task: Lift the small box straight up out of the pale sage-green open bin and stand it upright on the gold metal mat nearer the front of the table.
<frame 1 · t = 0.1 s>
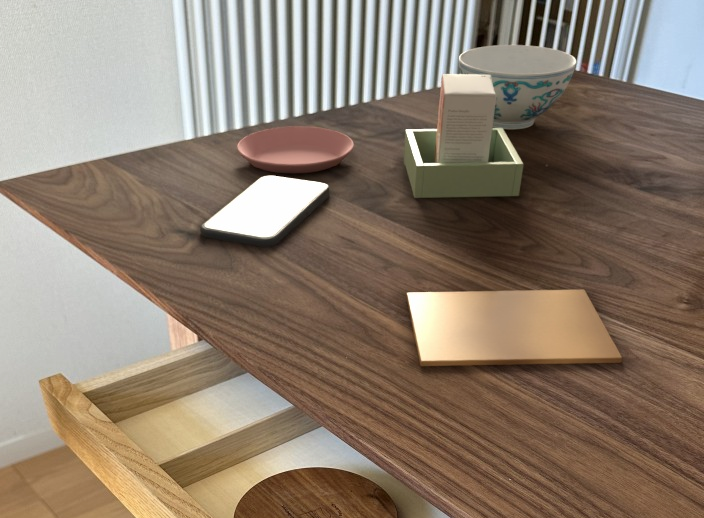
small box: (457, 183, 99), resting in open bin
plate: (295, 162, 105), on the table
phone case: (268, 220, 92), on the table
gold metal mat: (506, 333, 72), on the table
open bin: (458, 181, 99), on the table
chinaware: (508, 123, 116), on the table
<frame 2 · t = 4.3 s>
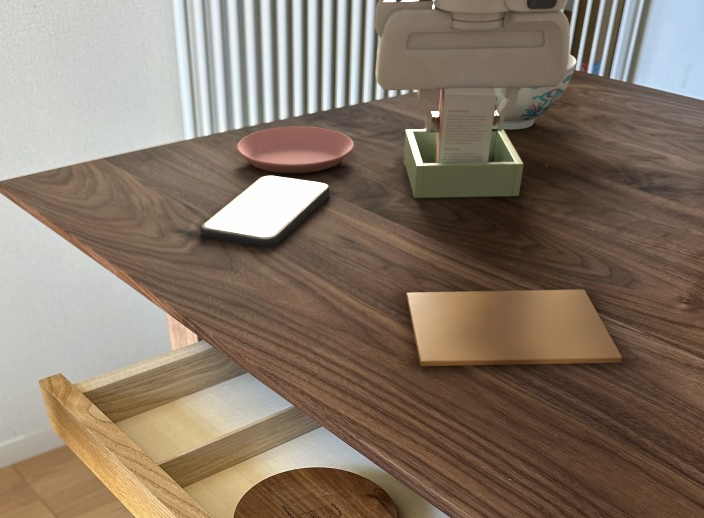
hand: (463, 130, 95), 6 cm above the table, tool pointing down, fingers closed on small box, 6 cm apart
small box: (457, 183, 99), resting in open bin, touching gripper
everything else where it was.
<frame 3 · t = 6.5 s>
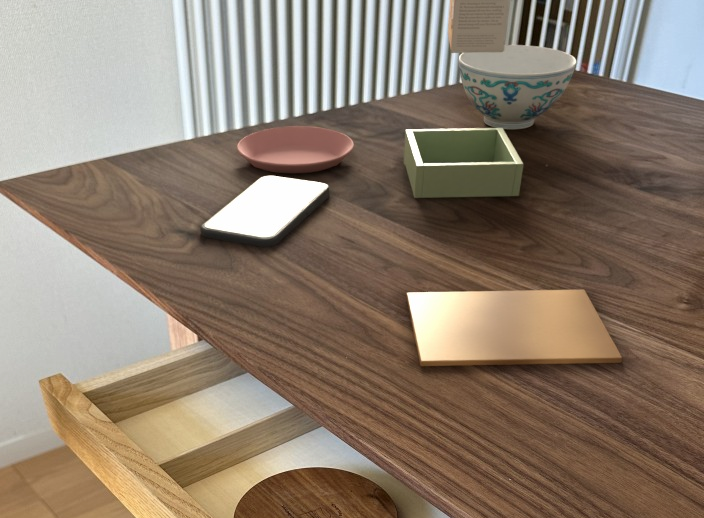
small box: (474, 46, 90), point 14 cm above the table, touching gripper
everything else where it was.
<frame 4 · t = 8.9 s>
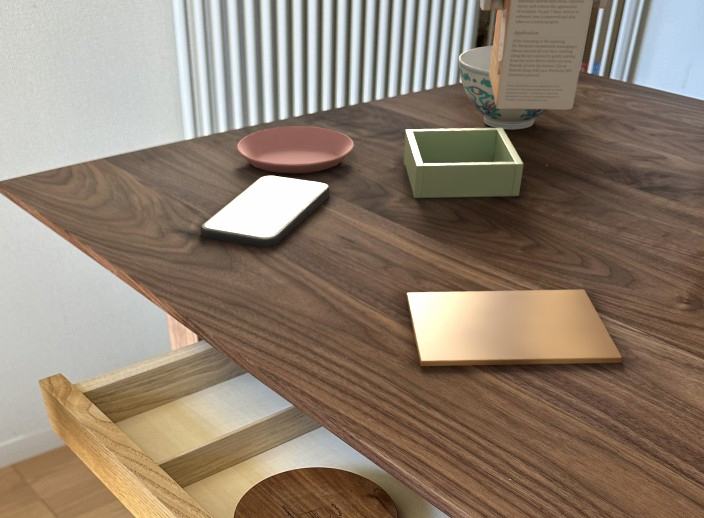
hand: (542, 8, 60), 23 cm above the table, tool pointing down, fingers closed on small box, 6 cm apart
small box: (528, 97, 64), point 17 cm above the table, touching gripper
everything else where it was.
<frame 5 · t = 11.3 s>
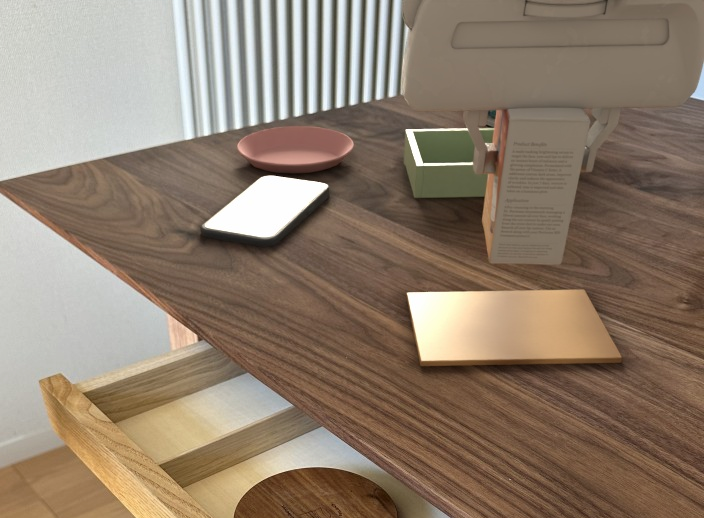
hand: (532, 171, 63), 13 cm above the table, tool pointing down, fingers closed on small box, 6 cm apart
small box: (519, 246, 67), point 8 cm above the table, touching gripper
everything else where it was.
when the fingers open (6 cm above the table, at t = 13.4 s): small box stays where it is, resting on gold metal mat.
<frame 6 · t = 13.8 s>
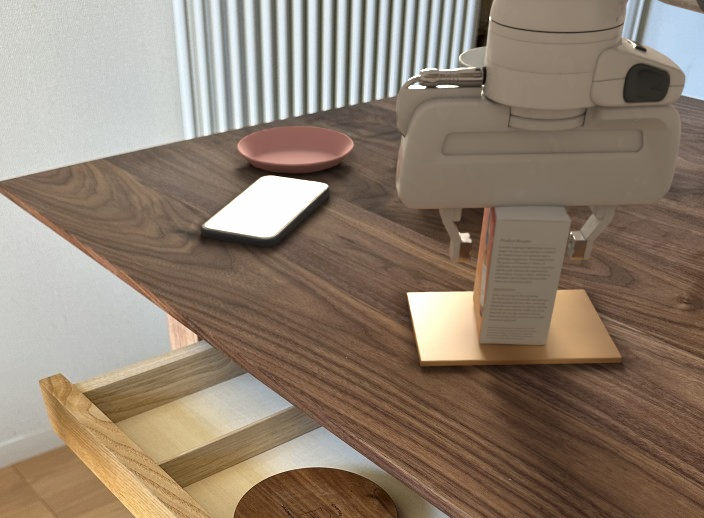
hand: (518, 258, 68), 7 cm above the table, tool pointing down, fingers open, 8 cm apart
small box: (507, 324, 72), point 1 cm above the table, touching gold metal mat
everything else where it was.
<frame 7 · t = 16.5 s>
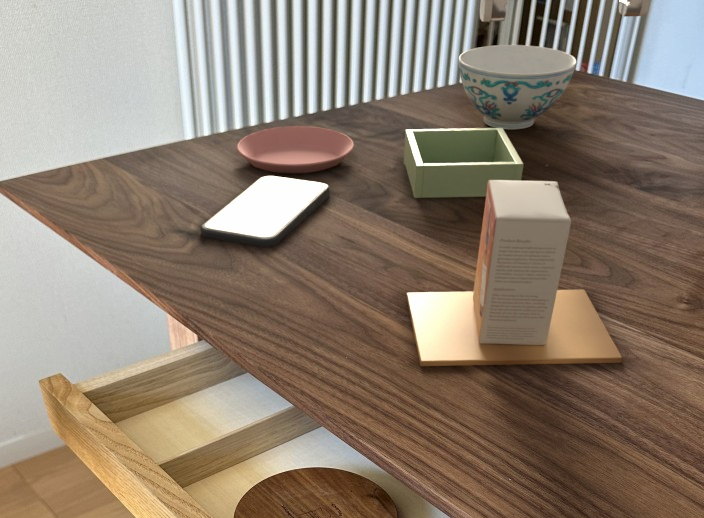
hand: (561, 17, 57), 23 cm above the table, tool pointing down, fingers open, 8 cm apart
nothing on the table moved.
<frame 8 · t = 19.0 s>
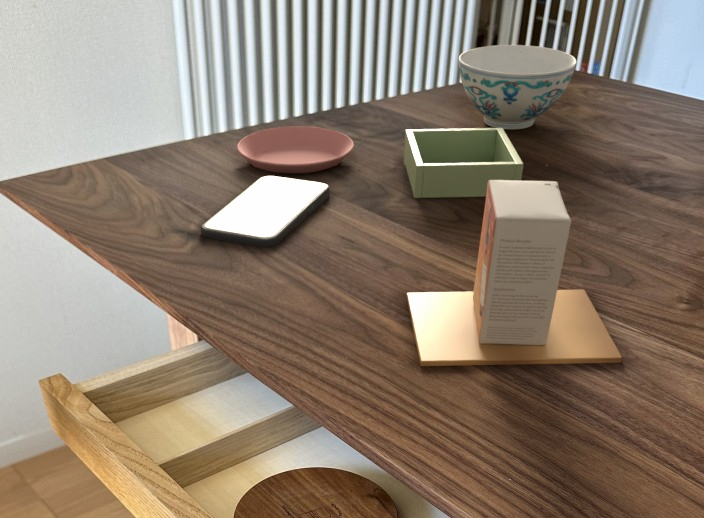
nothing on the table moved.
at the end: small box inside the target area on the gold metal mat (0.0 cm from its centre), point 0.8 cm above the gold metal mat's base; small box tilted 0°; the gripper is holding nothing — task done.
